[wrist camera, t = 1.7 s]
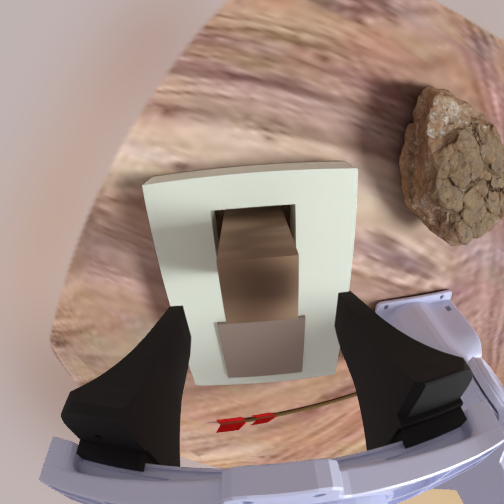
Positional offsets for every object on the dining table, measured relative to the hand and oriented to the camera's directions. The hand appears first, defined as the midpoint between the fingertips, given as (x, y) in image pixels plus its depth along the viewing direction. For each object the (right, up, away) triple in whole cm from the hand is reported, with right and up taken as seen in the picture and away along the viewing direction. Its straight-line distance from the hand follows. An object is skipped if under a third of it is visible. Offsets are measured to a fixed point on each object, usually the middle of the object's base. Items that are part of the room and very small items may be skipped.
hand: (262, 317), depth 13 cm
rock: (+15, +11, +7) cm, 20 cm away
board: (0, 0, +11) cm, 11 cm away
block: (0, +5, +9) cm, 10 cm away
